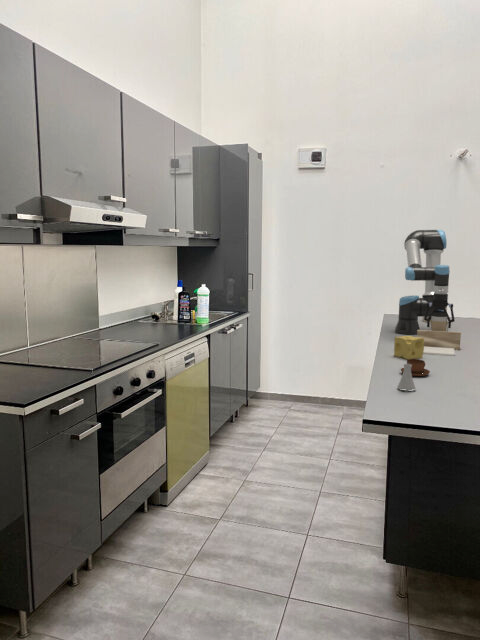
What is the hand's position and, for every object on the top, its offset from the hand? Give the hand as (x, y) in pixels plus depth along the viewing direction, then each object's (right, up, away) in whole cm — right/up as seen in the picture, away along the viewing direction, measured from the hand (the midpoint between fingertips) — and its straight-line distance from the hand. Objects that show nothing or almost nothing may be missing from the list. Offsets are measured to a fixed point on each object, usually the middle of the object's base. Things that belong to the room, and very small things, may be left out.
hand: (438, 333), depth 294 cm
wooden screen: (-3, -8, -8) cm, 11 cm away
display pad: (-7, -9, -18) cm, 21 cm away
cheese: (-26, -11, -30) cm, 41 cm away
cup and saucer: (-35, -17, -64) cm, 75 cm away
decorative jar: (+28, +6, +81) cm, 86 cm away
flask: (-46, -20, -88) cm, 101 cm away
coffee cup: (0, -3, 0) cm, 3 cm away
